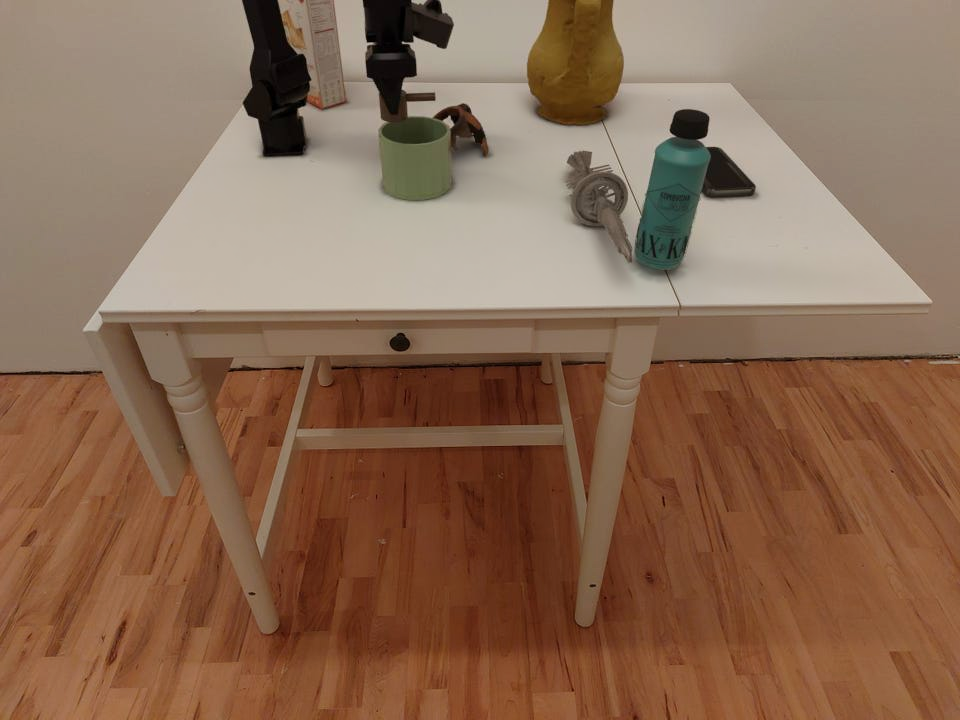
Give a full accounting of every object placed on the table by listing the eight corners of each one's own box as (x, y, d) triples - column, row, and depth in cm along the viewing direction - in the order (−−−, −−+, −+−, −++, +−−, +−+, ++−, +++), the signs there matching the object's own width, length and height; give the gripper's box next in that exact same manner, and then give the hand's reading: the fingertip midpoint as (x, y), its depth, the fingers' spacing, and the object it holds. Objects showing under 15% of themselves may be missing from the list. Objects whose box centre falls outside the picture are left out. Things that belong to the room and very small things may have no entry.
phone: (709, 191, 99) (674, 148, 110) (707, 197, 100) (673, 154, 111) (759, 188, 100) (720, 146, 111) (757, 195, 101) (718, 152, 112)
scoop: (381, 123, 93) (379, 98, 90) (380, 112, 96) (378, 88, 93) (437, 120, 94) (436, 96, 91) (434, 110, 96) (434, 86, 94)
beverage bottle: (625, 253, 88) (653, 102, 75) (673, 251, 89) (710, 101, 76) (638, 281, 84) (670, 125, 70) (689, 279, 84) (731, 124, 71)
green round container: (384, 202, 98) (379, 147, 92) (381, 170, 106) (377, 117, 100) (454, 198, 99) (454, 143, 93) (447, 167, 107) (446, 114, 101)
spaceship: (589, 242, 75) (657, 216, 74) (544, 143, 104) (593, 123, 102) (607, 298, 80) (672, 274, 79) (560, 188, 108) (607, 170, 107)
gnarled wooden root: (491, 167, 108) (467, 128, 102) (441, 185, 112) (415, 148, 106) (495, 120, 115) (473, 81, 109) (448, 139, 119) (424, 102, 113)
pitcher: (633, 104, 127) (651, -46, 109) (590, 144, 115) (603, -17, 98) (553, 89, 134) (558, -55, 117) (506, 124, 123) (503, -29, 105)
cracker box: (281, 90, 131) (259, -31, 117) (308, 83, 134) (289, -36, 120) (320, 110, 123) (302, -16, 109) (347, 103, 126) (333, -22, 113)
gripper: (456, 2, 77) (457, 133, 88) (442, -34, 91) (444, 83, 101) (359, 4, 76) (372, 137, 86) (359, -33, 90) (370, 85, 100)
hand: (393, 108), depth 94 cm, fingers closed on scoop, 4 cm apart
